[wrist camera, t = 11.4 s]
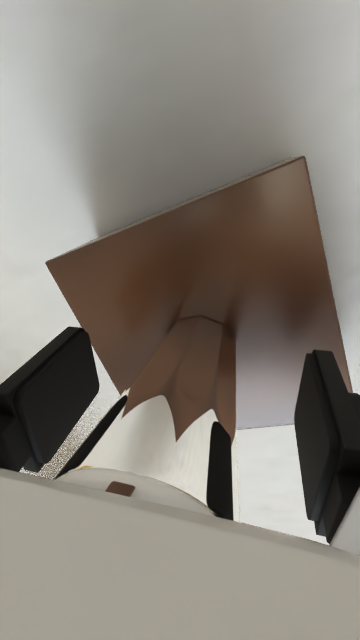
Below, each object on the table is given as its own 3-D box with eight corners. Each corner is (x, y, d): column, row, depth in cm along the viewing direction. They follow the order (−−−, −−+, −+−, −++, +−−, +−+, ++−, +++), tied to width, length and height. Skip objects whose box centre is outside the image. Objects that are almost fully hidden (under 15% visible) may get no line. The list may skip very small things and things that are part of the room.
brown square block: (97, 238, 17) (44, 262, 13) (290, 157, 13) (305, 154, 9) (167, 383, 21) (144, 439, 17) (333, 355, 17) (358, 418, 13)
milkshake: (261, 287, 11) (263, 681, 3) (246, 394, 14) (223, 773, 5) (148, 278, 12) (-116, 547, 4) (153, 379, 15) (4, 681, 6)
